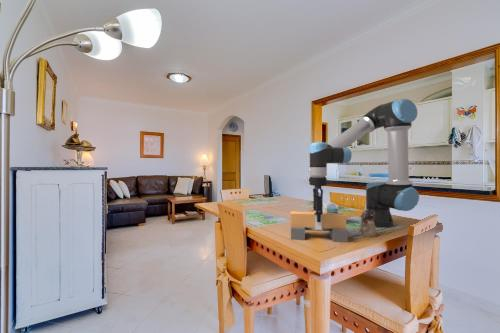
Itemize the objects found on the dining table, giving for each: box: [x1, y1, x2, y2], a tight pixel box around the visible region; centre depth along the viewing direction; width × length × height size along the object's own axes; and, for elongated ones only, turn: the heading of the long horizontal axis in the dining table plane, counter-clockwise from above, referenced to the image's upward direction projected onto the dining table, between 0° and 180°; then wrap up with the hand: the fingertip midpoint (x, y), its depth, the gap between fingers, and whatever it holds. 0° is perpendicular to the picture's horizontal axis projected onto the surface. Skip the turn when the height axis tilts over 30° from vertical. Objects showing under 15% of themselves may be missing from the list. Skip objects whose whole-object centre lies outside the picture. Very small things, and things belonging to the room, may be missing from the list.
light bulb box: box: [323, 201, 340, 213], centre depth 136 cm, size 11×7×11 cm, turn 179°
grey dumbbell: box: [290, 226, 349, 243], centre depth 110 cm, size 24×10×5 cm, turn 81°
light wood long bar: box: [290, 210, 347, 229], centre depth 110 cm, size 24×5×6 cm, turn 81°
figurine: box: [358, 208, 377, 238], centre depth 114 cm, size 7×7×12 cm
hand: (317, 226), depth 110 cm, fingers open, 6 cm apart
